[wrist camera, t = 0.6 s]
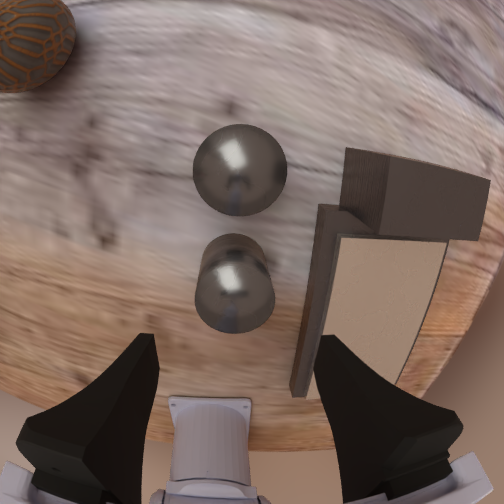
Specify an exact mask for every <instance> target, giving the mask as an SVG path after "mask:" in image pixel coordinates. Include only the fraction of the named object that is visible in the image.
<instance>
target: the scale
mask: <svg viewBox="0 0 504 504" xmlns="http://www.w3.org/2000/svg"><path fill="white" fill-rule="evenodd" d="M490 181H491V180H488V179H485V178H482V177H479V176H476V175H473V174H469V173H466V172H463V171H459V170H456V169H452V168H449V167H445V166H441V165H438V164H433V163H429V162H425V161H420V160H415V159H411V158H406V157H401V156H396V155H390V154H385V153H379V152H373V151H367V150H361V149H354V148H347V147H346V151H345V161H344V171H343V180H342V188H341V196H340V204H339V205H329V204H319V205H318V214H317V222H316V230H315V238H314V245H313V252H312V259H311V266H310V273H309V280H308V286H307V292H306V299H305V305H304V311H303V316H302V322H301V328H300V333H299V339H298V344H297V350H296V355H295V360H294V365H293V370H292V375H291V380H290V385H289V386H290V390H291V394H292V398H294V397H305V399H306V400H310V399H320V395H319V392H318V389H317V385H316V381H315V376H314V370H313V367H314V363H315V359H316V355H317V351H318V347H319V342H320V338H321V335H333V334H334V335H335V336H336V337H338V338H339V339H340V340H341V341H342V342H343V343H344V344H345V345H346V346H347V347H348V348H349V349H350V350H351V351H352V352H353V353H354V354H355V355H356V356H358V357H359V358H360V359H361V360H362V361H363V362H364V363H365V364H367V365H368V366H369V367H370V368H371V369H373V370H374V371H375V372H376V373H378V374H379V375H380V376H382V377H383V378H384V379H386V380H387V381H389V382H390V383H392V384H393V385H394V384H396V383H397V381H398V379H399V377H400V375H401V373H402V371H403V369H404V367H405V364H406V362H407V360H408V358H409V356H410V353H411V351H412V349H413V347H414V344H415V342H416V339H417V337H418V335H419V332H420V330H421V327H422V325H423V322H424V319H425V317H426V314H427V311H428V309H429V306H430V303H431V300H432V297H433V294H434V291H435V288H436V285H437V282H438V279H439V276H440V272H441V269H442V266H443V262H444V259H445V255H446V251H447V247H448V243H449V240H450V239H455V240H469V241H478V239H479V235H480V231H481V227H482V223H483V219H484V214H485V209H486V204H487V199H488V193H489V188H490Z"/></svg>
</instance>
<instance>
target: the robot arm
mask: <svg viewBox="0 0 504 504" xmlns="http://www.w3.org/2000/svg"><path fill="white" fill-rule="evenodd" d="M159 370H160V367H159V362H158V356H157V351H156V345H155V339H154V334H148V333H140V334H139V335H138V336H137V337H136V338H135V339H134V340H133V341H132V343H131V344H130V345H129V346H128V347H127V348H126V349H125V350H124V352H123V353H122V354H121V355H120V356H119V357H118V358H117V359H116V360H115V361H114V362H113V363H112V364H111V365H110V366H109V367H108V368H107V369H106V370H105V371H104V372H103V373H102V374H101V375H100V376H99V377H98V378H97V379H95V380H94V381H93V382H92V383H91V384H89V385H88V386H87V387H86V388H84V389H83V390H81V391H80V392H78V393H77V394H75V395H74V396H72V397H71V398H69V399H67V400H66V401H64V402H62V403H60V404H59V405H57V406H55V407H53V408H51V409H48V410H46V411H44V412H41V413H39V414H36V415H34V416H31V417H28V418H27V419H26V421H25V423H24V425H23V427H22V429H21V431H20V434H19V436H18V438H17V441H16V445H17V447H18V449H19V451H20V452H21V453H22V454H23V456H24V457H25V458H26V459H27V460H28V461H29V462H30V463H31V464H32V465H33V466H34V467H35V468H36V469H35V472H34V474H33V473H32V472H30V471H28V470H27V469H24V468H22V467H20V466H18V465H15V464H14V463H11V462H9V461H6V463H5V465H4V468H3V471H2V473H1V476H0V504H141V485H142V464H143V452H144V443H145V435H146V430H147V425H148V421H149V417H150V413H151V409H152V406H153V402H154V398H155V394H156V390H157V385H158V377H159ZM313 370H314V376H315V381H316V385H317V389H318V392H319V395H320V398H321V401H322V404H323V406H324V409H325V412H326V415H327V418H328V420H329V423H330V426H331V430H332V433H333V437H334V442H335V447H336V452H337V458H338V463H339V470H340V477H341V485H342V496H343V504H475V503H477V502H478V501H479V500H481V499H482V498H484V497H485V496H486V495H487V494H489V493H490V492H492V491H493V487H492V485H491V483H490V481H489V479H488V477H487V475H486V473H485V472H484V470H483V468H482V466H481V464H480V463H479V461H478V459H477V457H476V455H475V454H474V452H473V451H471V452H469V453H468V454H465V455H463V456H461V457H459V458H457V459H455V460H454V461H452V462H451V463H450V464H449V462H448V460H447V458H449V457H450V454H449V452H448V448H449V447H450V446H451V445H452V444H453V443H454V441H455V440H456V439H457V438H458V437H459V436H460V434H461V433H462V430H463V424H462V423H461V421H460V419H459V418H458V416H457V415H456V413H455V411H452V410H449V409H446V408H442V407H439V406H436V405H433V404H431V403H428V402H426V401H423V400H421V399H419V398H417V397H415V396H413V395H411V394H409V393H407V392H405V391H403V390H401V389H400V388H398V387H396V386H395V385H393V384H392V383H390V382H389V381H387V380H386V379H384V378H383V377H382V376H380V375H379V374H378V373H376V372H375V371H374V370H373V369H371V368H370V367H369V366H368V365H367V364H365V363H364V362H363V361H362V360H361V359H360V358H359V357H358V356H356V355H355V354H354V353H353V352H352V351H351V350H350V349H349V348H348V347H347V346H346V345H345V344H344V343H343V342H342V341H341V340H340V339H339V338H338V337H336V336H335V335H334V334H333V335H321V338H320V342H319V347H318V351H317V355H316V359H315V363H314V367H313ZM168 403H169V408H170V412H171V416H172V420H173V424H174V428H175V433H174V441H173V451H172V461H171V470H170V481H167V483H166V491H165V490H162V489H158V490H157V492H155V493H153V494H152V495H151V498H150V502H149V504H271V503H270V502H269V501H268V500H267V499H266V498H265V497H264V496H257V491H256V487H251V479H250V468H249V457H248V435H249V425H250V414H251V400H250V399H247V398H193V397H176V396H171V397H169V398H168Z"/></svg>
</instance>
